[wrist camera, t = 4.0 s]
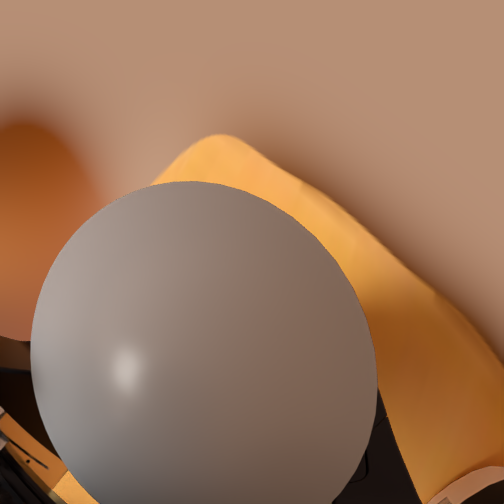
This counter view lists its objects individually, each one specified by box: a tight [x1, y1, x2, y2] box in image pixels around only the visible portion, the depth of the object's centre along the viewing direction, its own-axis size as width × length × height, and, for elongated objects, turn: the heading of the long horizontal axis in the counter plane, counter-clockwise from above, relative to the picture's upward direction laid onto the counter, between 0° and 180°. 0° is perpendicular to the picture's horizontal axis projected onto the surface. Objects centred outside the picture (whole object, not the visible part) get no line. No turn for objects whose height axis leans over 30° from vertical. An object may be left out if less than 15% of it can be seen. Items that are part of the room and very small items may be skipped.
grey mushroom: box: [30, 181, 378, 504], centre depth 9 cm, size 5×5×12 cm
